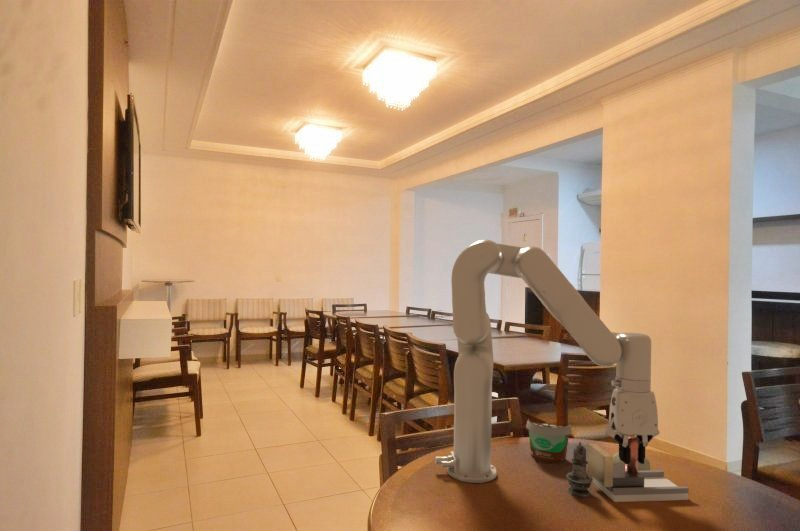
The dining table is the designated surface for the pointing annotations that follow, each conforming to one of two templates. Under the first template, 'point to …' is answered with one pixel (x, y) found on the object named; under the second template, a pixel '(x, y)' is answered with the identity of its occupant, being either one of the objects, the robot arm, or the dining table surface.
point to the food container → (548, 442)
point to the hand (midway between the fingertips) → (631, 460)
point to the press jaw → (615, 467)
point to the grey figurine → (579, 474)
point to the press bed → (648, 489)
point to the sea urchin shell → (618, 462)
